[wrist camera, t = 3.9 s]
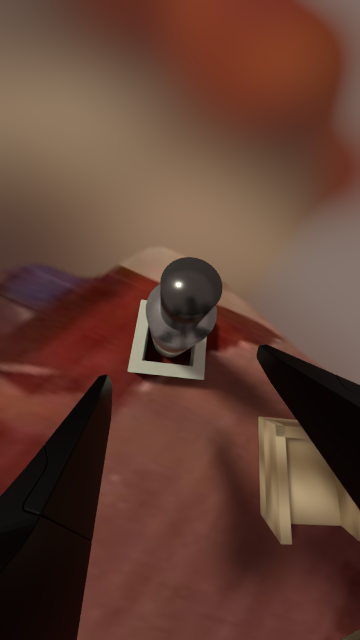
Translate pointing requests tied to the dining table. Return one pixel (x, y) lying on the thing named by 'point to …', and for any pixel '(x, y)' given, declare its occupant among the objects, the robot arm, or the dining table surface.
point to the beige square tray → (299, 482)
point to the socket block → (163, 369)
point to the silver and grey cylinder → (183, 305)
